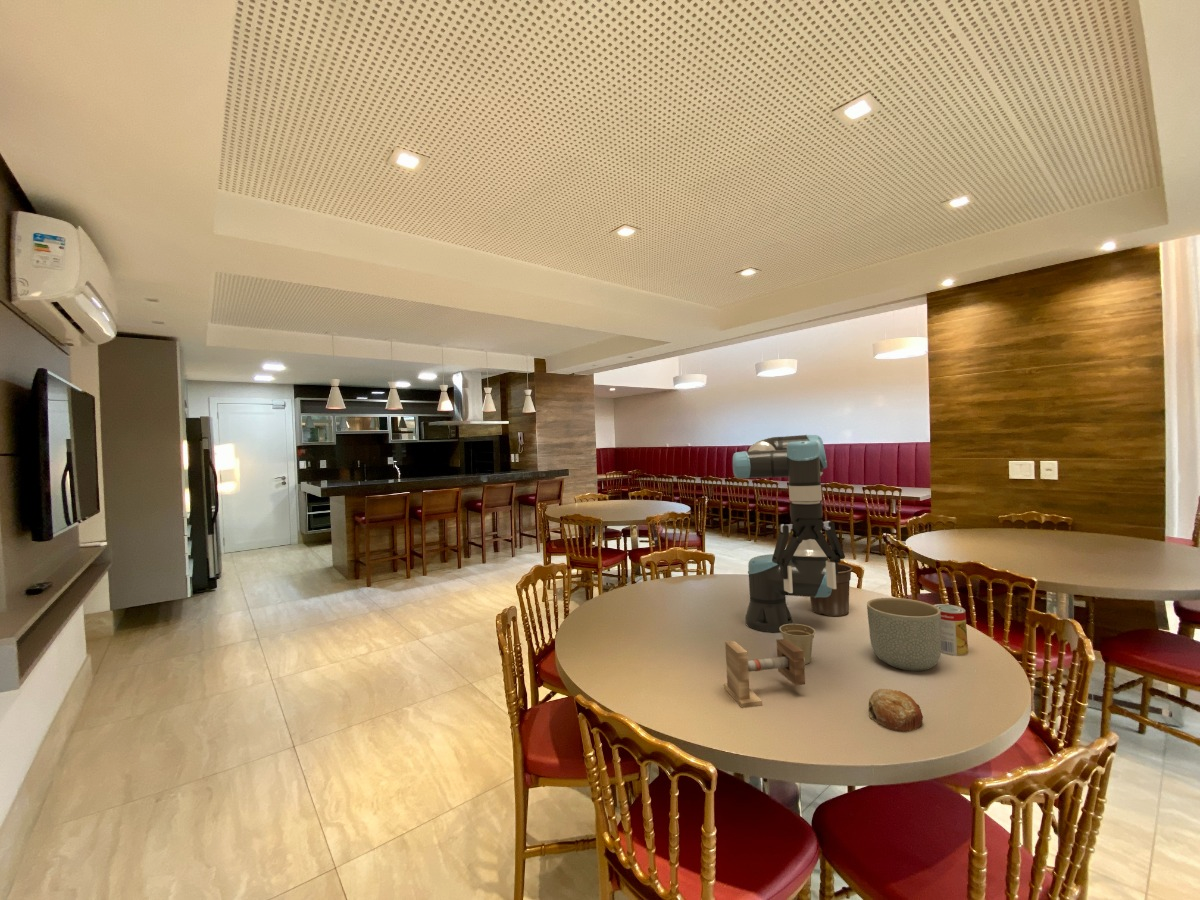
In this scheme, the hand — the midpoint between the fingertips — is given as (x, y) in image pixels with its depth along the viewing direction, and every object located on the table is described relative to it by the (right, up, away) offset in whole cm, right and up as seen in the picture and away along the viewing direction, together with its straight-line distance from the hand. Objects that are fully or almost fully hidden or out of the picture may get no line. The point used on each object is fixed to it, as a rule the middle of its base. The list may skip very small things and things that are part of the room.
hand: (810, 589), depth 120 cm
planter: (+30, -23, +10) cm, 40 cm away
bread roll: (+12, -24, -16) cm, 31 cm away
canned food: (+48, -22, +17) cm, 55 cm away
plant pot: (+31, -24, +54) cm, 67 cm away
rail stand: (-11, -25, -2) cm, 27 cm away
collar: (-5, -21, -1) cm, 22 cm away
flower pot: (+3, -24, +15) cm, 29 cm away
